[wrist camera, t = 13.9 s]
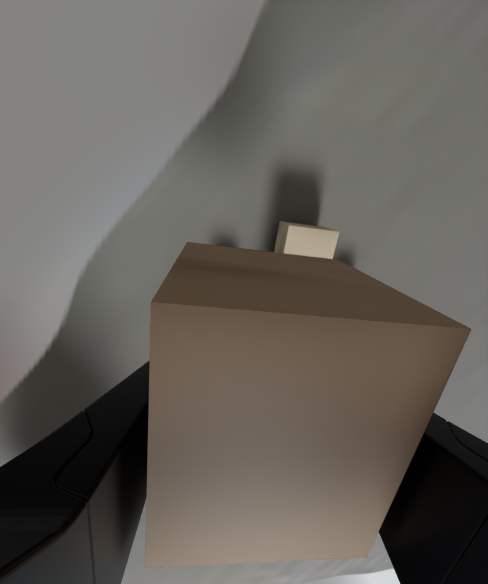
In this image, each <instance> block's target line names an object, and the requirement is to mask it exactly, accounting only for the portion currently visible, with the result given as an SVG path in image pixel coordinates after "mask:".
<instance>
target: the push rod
mask: <svg viewBox="0 0 488 584" xmlns="http://www.w3.org/2000/svg"><path fill="white" fill-rule="evenodd" d="M338 235H339V232H338V231H335V230H332V229H329V228H326V227H321V226H314V225H306V224H299V223H291V222H284V221H280V222H279V227H278V233H277V239H276V245H275V250H274V252H277V253H285V254H294V255H303V256H311V257H320V258H328V259H333V255H334V251H335V247H336V243H337V239H338Z"/></svg>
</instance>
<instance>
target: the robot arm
mask: <svg viewBox="0 0 488 584" xmlns="http://www.w3.org/2000/svg"><path fill="white" fill-rule="evenodd" d="M149 368H150V360H149V361H148V362H147V363H145V364H144V365H143V366H141V367H140V368H139V369H137V370H136V371H135V372H133V373H132V374H131V375H129V376H128V377H127V378H126V379H124V380H123V381H122V382H120V383H119V384H118V385H116V386H115V387H114V388H112V389H111V390H110V391H108V392H107V393H106V394H104V395H103V396H102V397H100V398H99V399H98V400H96V401H95V402H94V403H92V404H91V405H90V406H88V407H87V408H86V409H85V410H84V411H82V412H80V413H79V414H78V415H76V416H75V417H74V418H72V419H71V420H70V421H68V422H67V423H65V424H64V425H63V426H61V427H60V428H58V429H57V430H56V431H54V432H53V433H51V434H50V435H49V436H47V437H46V438H44V439H43V440H41V441H40V442H38V443H37V444H35V445H33V446H32V447H30V448H29V449H27V450H26V451H24V452H23V453H21V454H20V455H18V456H17V457H15V458H14V459H12V460H10V461H9V462H7V463H6V464H4V465H3V466H1V467H0V584H121V581H122V578H123V574H124V571H125V568H126V564H127V561H128V557H129V554H130V551H131V547H132V544H133V541H134V537H135V534H136V531H137V527H138V524H139V521H140V517H141V514H142V510H143V507H144V504H145V500H146V497H147V459H148V414H149ZM379 534H380V536H381V538H382V541H383V543H384V546H385V548H386V550H387V553H388V555H389V558H390V560H391V562H392V565H393V567H394V570H395V572H396V574H397V577H398V579H399V581H400V584H488V443H486V442H485V441H483V440H481V439H479V438H477V437H476V436H474V435H472V434H470V433H468V432H467V431H465V430H463V429H461V428H459V427H458V426H456V425H454V424H452V423H451V422H447V421H446V420H445V419H444V418H442V417H440V416H438V415H437V414H435V413H433V414H432V416H431V418H430V420H429V423H428V425H427V427H426V429H425V431H424V434H423V436H422V438H421V440H420V442H419V444H418V447H417V449H416V451H415V453H414V455H413V457H412V460H411V462H410V464H409V466H408V468H407V471H406V473H405V475H404V477H403V479H402V481H401V484H400V486H399V488H398V490H397V492H396V494H395V497H394V499H393V501H392V503H391V505H390V508H389V510H388V512H387V514H386V516H385V518H384V521H383V523H382V525H381V527H380V529H379Z"/></svg>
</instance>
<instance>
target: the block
mask: <svg viewBox="0 0 488 584" xmlns="http://www.w3.org/2000/svg"><path fill="white" fill-rule="evenodd" d="M470 331H471V329H470V328H468V327H466V326H465V325H463V324H461V323H459V322H457V321H455V320H453V319H451V318H449V317H447V316H445V315H443V314H442V313H440V312H438V311H436V310H434V309H432V308H430V307H428V306H426V305H424V304H422V303H420V302H418V301H417V300H415V299H413V298H411V297H409V296H407V295H405V294H403V293H401V292H399V291H397V290H395V289H394V288H392V287H390V286H388V285H386V284H384V283H382V282H380V281H378V280H376V279H374V278H372V277H370V276H369V275H367V274H365V273H363V272H361V271H359V270H357V269H355V268H353V267H351V266H349V265H347V264H346V263H344V262H342V261H340V260H337V259H328V258H320V257H311V256H303V255H294V254H285V253H277V252H268V251H260V250H251V249H243V248H234V247H225V246H217V245H208V244H200V243H191V242H187V244H186V245H185V247H184V249H183V250H182V252H181V253H180V255H179V257H178V258H177V260H176V262H175V263H174V265H173V267H172V268H171V270H170V272H169V273H168V275H167V277H166V278H165V280H164V281H163V283H162V285H161V286H160V288H159V290H158V291H157V293H156V295H155V296H154V298H153V300H152V301H151V323H150V368H149V414H148V459H147V504H146V550H145V568H163V567H184V566H204V565H224V564H245V563H265V562H285V561H306V560H326V559H346V558H367V555H368V553H369V551H370V549H371V547H372V545H373V542H374V540H375V538H376V536H377V534H378V531H379V529H380V527H381V525H382V523H383V521H384V518H385V516H386V514H387V512H388V510H389V508H390V505H391V503H392V501H393V499H394V497H395V494H396V492H397V490H398V488H399V486H400V484H401V481H402V479H403V477H404V475H405V473H406V471H407V468H408V466H409V464H410V462H411V460H412V457H413V455H414V453H415V451H416V449H417V447H418V444H419V442H420V440H421V438H422V436H423V434H424V431H425V429H426V427H427V425H428V423H429V420H430V418H431V416H432V414H433V412H434V410H435V407H436V405H437V403H438V401H439V399H440V397H441V394H442V392H443V390H444V388H445V386H446V383H447V381H448V379H449V377H450V375H451V373H452V370H453V368H454V366H455V364H456V362H457V360H458V357H459V355H460V353H461V351H462V349H463V346H464V344H465V342H466V340H467V338H468V336H469V333H470Z"/></svg>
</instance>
